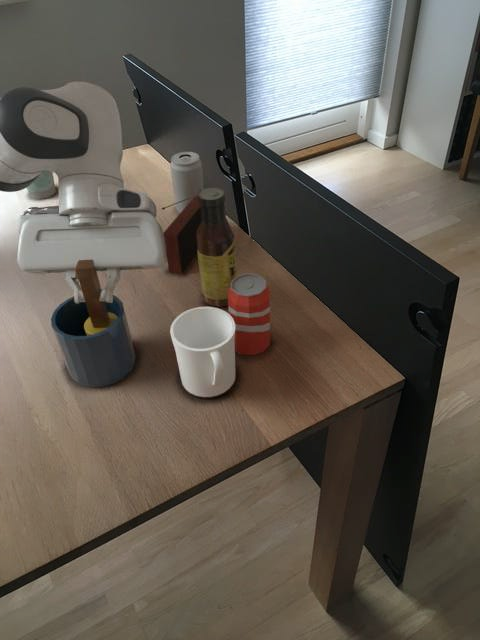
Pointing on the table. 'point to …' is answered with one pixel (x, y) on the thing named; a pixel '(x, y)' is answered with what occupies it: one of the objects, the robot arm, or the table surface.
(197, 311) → the mug
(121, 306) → the blue bin
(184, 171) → the beverage can
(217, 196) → the sauce bottle
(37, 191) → the coffee cup
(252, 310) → the beverage can
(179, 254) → the radio
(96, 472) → the table surface
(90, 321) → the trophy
